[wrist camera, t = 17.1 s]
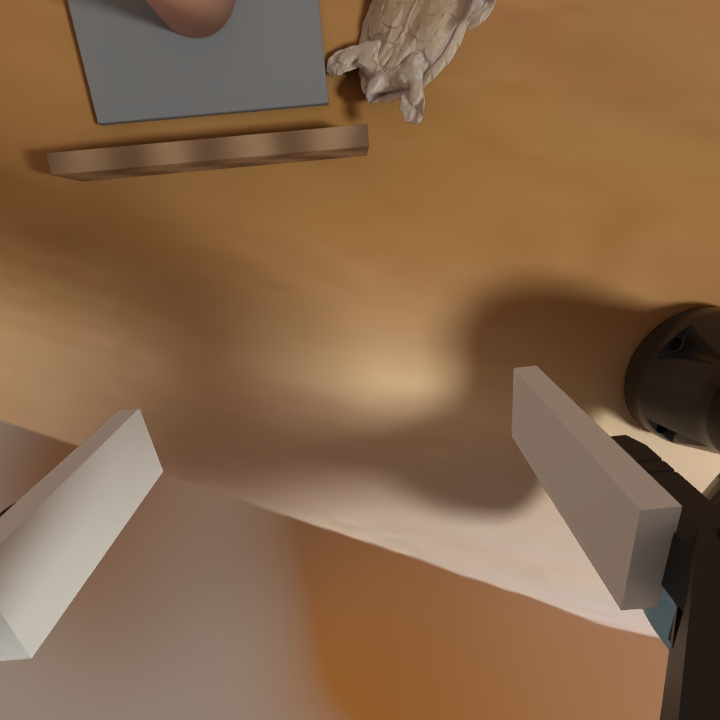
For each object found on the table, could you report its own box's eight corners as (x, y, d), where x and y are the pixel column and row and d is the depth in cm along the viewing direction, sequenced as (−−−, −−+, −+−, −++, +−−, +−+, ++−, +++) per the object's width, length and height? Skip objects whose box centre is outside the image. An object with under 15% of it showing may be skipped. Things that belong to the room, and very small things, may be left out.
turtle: (412, 145, 40) (474, 130, 31) (320, 122, 36) (362, 97, 27) (445, -55, 35) (530, -138, 26) (343, -106, 31) (403, -224, 22)
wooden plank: (364, 135, 36) (367, 124, 32) (366, 155, 37) (368, 146, 33) (77, 162, 36) (45, 153, 32) (82, 181, 37) (51, 174, 33)
